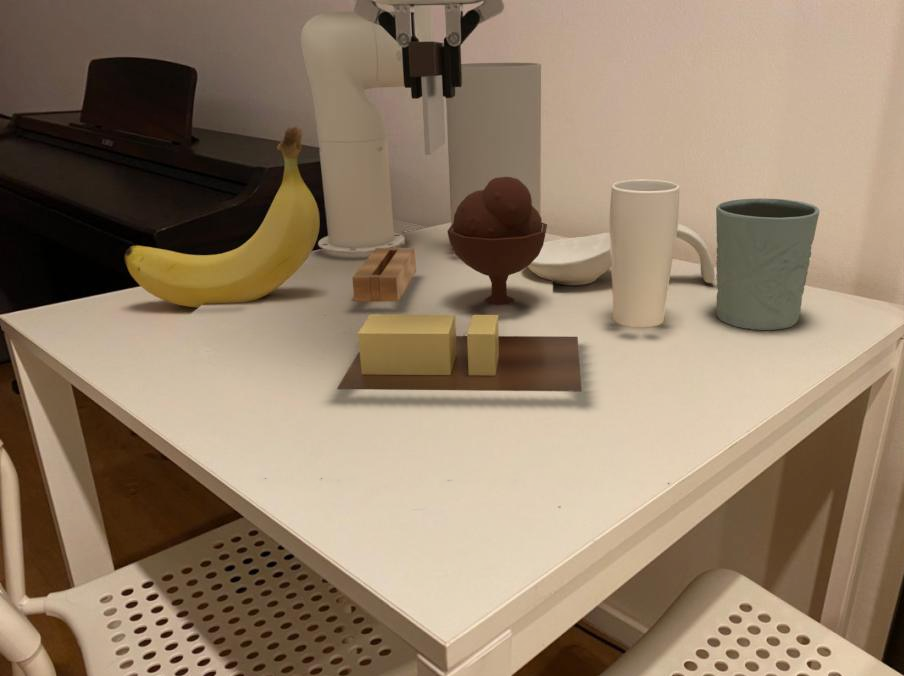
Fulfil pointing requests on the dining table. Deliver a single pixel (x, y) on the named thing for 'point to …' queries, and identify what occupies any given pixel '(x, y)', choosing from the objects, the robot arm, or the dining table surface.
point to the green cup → (763, 261)
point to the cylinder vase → (495, 129)
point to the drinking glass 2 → (642, 249)
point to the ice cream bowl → (498, 233)
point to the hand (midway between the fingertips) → (433, 95)
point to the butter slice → (483, 345)
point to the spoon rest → (598, 258)
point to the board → (517, 369)
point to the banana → (239, 250)
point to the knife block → (384, 274)
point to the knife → (430, 90)
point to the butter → (407, 344)
